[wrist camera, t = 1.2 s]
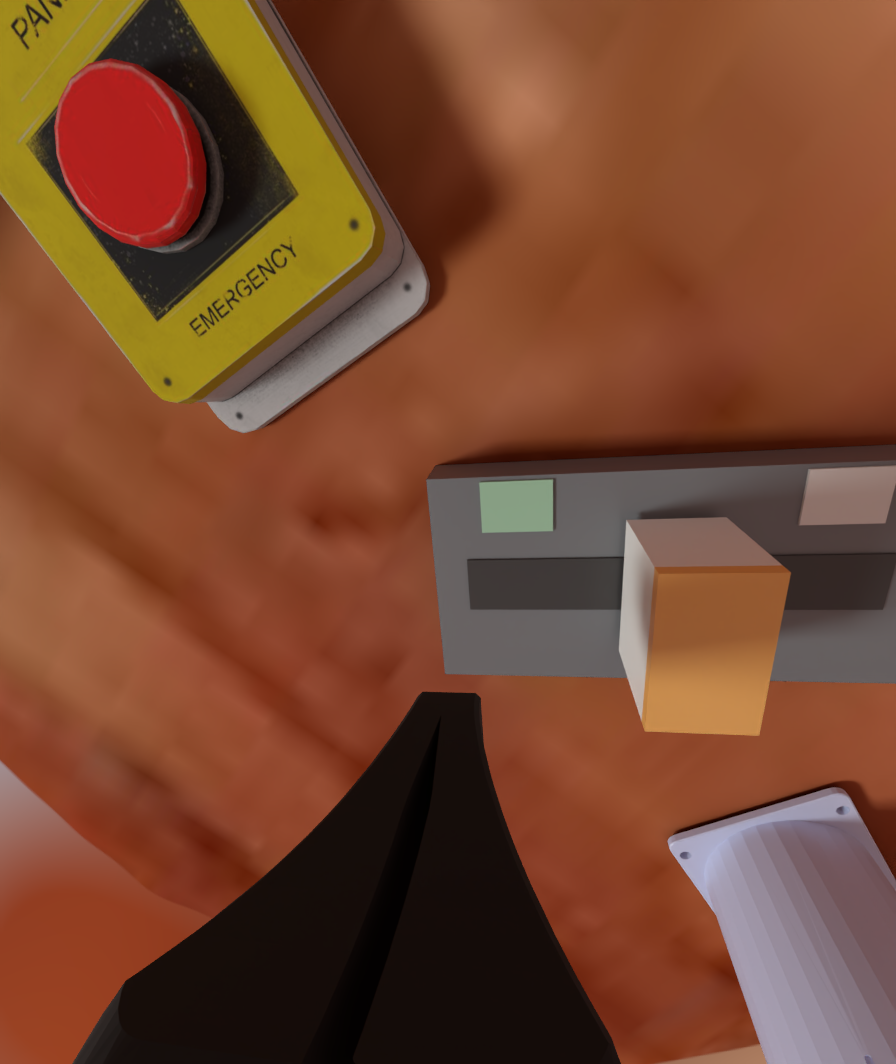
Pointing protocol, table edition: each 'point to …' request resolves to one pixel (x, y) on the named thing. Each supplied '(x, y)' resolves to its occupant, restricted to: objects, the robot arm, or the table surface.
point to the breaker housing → (662, 493)
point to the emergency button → (200, 197)
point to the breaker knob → (699, 624)
